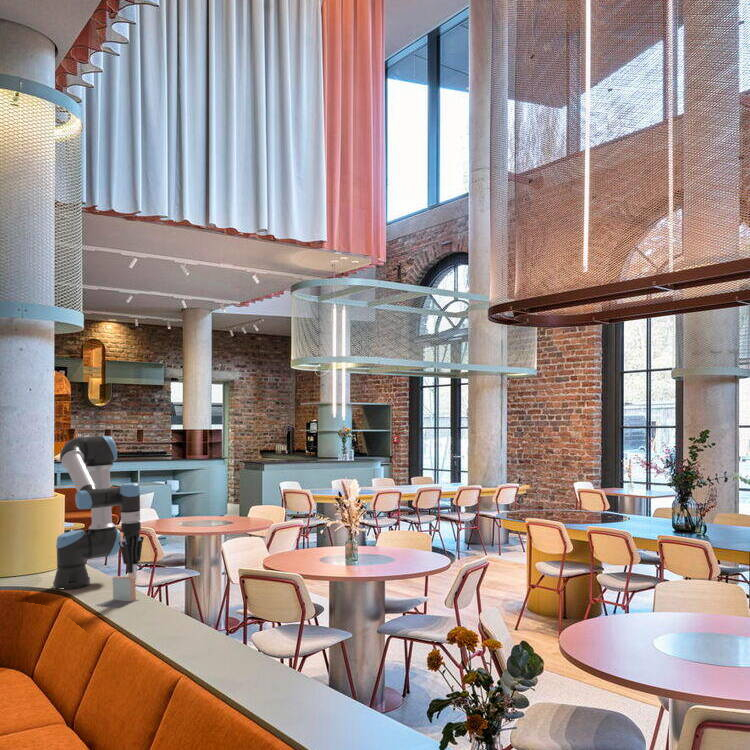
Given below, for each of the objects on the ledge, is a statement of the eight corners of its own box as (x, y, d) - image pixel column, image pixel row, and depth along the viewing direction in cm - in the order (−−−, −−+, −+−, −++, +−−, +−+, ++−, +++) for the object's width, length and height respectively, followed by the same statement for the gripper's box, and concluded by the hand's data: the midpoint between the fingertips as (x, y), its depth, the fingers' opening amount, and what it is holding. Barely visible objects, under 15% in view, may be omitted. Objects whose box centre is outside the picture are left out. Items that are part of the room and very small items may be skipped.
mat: (115, 599, 320) (115, 597, 320) (140, 601, 315) (139, 599, 315) (94, 607, 309) (94, 605, 309) (119, 609, 304) (119, 607, 304)
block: (117, 598, 319) (117, 576, 319) (135, 600, 315) (135, 577, 315) (113, 600, 316) (112, 577, 316) (131, 601, 313) (130, 578, 313)
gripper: (127, 524, 314) (129, 584, 313) (148, 519, 326) (150, 577, 325) (112, 524, 317) (114, 583, 316) (133, 519, 329) (135, 576, 328)
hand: (132, 580), depth 321 cm, fingers closed
